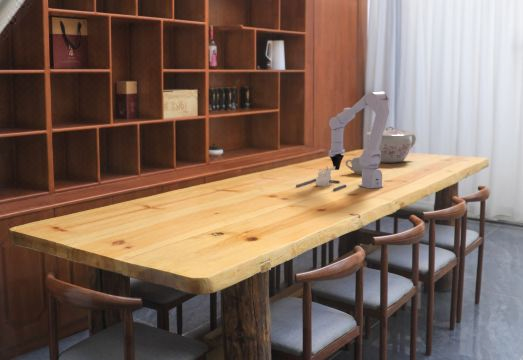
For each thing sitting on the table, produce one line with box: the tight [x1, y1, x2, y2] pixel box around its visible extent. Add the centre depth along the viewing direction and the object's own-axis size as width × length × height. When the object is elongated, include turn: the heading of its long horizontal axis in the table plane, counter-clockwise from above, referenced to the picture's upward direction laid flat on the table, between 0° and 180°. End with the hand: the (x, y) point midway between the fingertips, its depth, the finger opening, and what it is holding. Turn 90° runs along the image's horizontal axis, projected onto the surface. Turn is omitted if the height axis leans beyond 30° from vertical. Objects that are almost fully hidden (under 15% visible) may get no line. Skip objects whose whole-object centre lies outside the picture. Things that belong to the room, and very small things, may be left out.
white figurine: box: [314, 165, 336, 187], centre depth 311 cm, size 12×8×10 cm, turn 135°
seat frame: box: [295, 178, 347, 192], centre depth 311 cm, size 20×21×1 cm
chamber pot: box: [365, 125, 417, 164], centre depth 385 cm, size 28×28×21 cm
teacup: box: [345, 156, 362, 176], centre depth 344 cm, size 14×11×8 cm
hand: (336, 169), depth 321 cm, fingers closed
